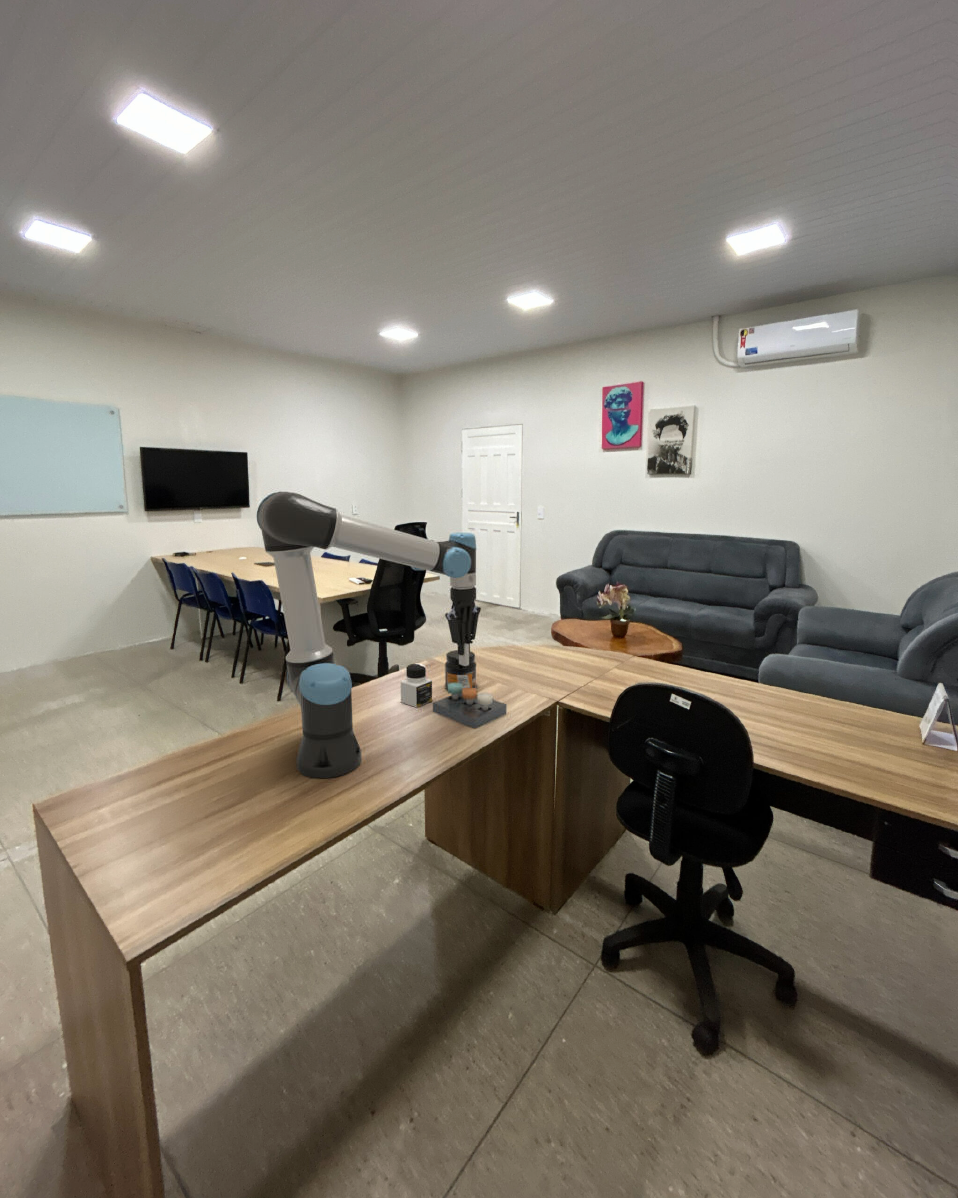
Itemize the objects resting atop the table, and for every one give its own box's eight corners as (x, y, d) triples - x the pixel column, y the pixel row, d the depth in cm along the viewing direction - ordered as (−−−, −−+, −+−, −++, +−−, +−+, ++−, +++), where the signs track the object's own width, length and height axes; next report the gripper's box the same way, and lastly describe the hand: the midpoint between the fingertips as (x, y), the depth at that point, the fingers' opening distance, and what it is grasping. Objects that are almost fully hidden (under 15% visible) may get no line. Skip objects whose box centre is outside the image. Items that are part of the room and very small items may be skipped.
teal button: (455, 704, 160) (455, 688, 159) (444, 700, 163) (444, 685, 162) (465, 699, 164) (465, 685, 163) (454, 696, 167) (454, 681, 166)
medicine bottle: (416, 708, 163) (416, 670, 161) (400, 702, 167) (399, 665, 165) (432, 701, 169) (432, 664, 166) (416, 695, 173) (415, 660, 171)
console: (474, 728, 149) (475, 718, 149) (432, 711, 160) (432, 702, 160) (506, 713, 160) (506, 704, 159) (464, 698, 171) (464, 690, 170)
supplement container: (465, 696, 173) (465, 660, 170) (438, 689, 178) (438, 655, 176) (482, 686, 182) (482, 652, 179) (456, 680, 187) (456, 647, 185)
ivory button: (485, 715, 153) (485, 699, 152) (474, 711, 156) (474, 695, 155) (495, 710, 156) (495, 695, 155) (484, 706, 159) (484, 691, 158)
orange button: (470, 709, 157) (470, 694, 156) (459, 705, 159) (459, 690, 158) (479, 705, 160) (480, 690, 159) (469, 701, 163) (469, 686, 162)
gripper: (456, 591, 147) (457, 673, 152) (487, 585, 157) (487, 661, 161) (437, 588, 152) (439, 667, 157) (469, 582, 161) (469, 656, 166)
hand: (464, 664), depth 159 cm, fingers closed
